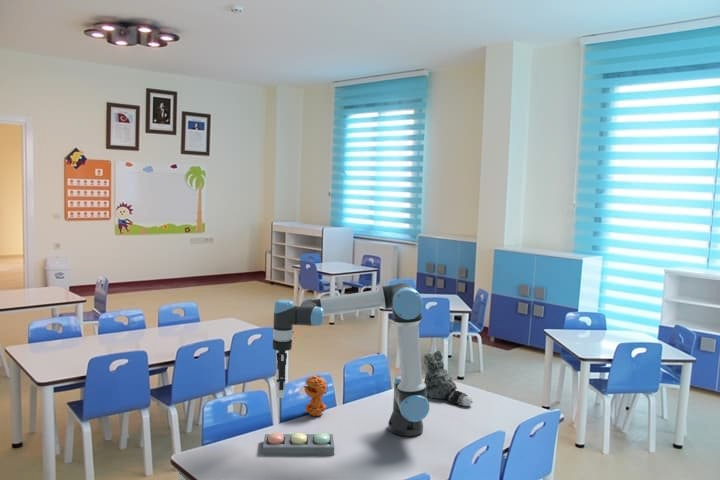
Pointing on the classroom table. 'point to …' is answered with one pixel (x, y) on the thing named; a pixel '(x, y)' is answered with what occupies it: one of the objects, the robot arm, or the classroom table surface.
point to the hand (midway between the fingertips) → (280, 391)
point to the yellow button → (298, 438)
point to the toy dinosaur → (315, 395)
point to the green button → (321, 438)
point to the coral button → (275, 438)
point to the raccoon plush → (441, 381)
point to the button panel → (298, 447)
